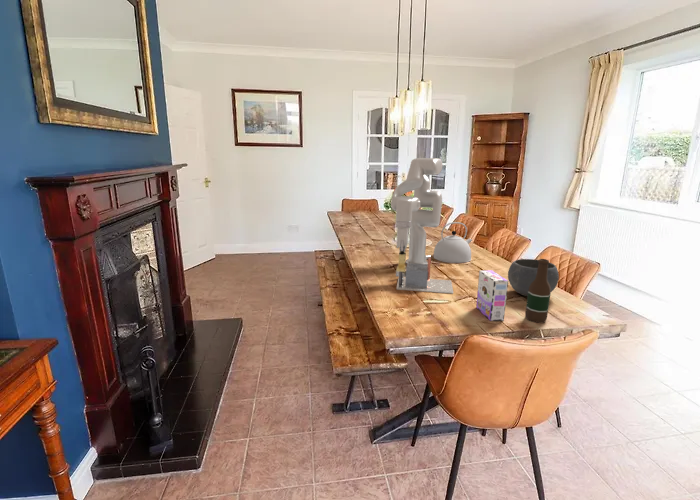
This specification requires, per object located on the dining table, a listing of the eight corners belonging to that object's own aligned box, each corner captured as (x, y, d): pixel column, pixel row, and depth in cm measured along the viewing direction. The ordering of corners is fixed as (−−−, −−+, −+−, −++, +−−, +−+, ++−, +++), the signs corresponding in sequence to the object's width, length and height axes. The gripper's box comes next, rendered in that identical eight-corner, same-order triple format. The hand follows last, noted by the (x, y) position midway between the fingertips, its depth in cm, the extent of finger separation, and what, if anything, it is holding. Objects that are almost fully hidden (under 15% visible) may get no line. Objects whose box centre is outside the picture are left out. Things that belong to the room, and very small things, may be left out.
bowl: (566, 300, 165) (571, 268, 161) (527, 305, 159) (532, 271, 155) (532, 285, 184) (536, 256, 180) (496, 289, 178) (500, 259, 174)
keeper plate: (405, 267, 185) (406, 253, 183) (405, 271, 178) (405, 257, 176) (397, 267, 185) (398, 253, 184) (396, 271, 179) (397, 257, 177)
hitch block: (450, 281, 189) (452, 263, 187) (453, 293, 172) (454, 274, 170) (398, 277, 194) (399, 260, 192) (396, 289, 177) (397, 270, 175)
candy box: (504, 321, 144) (509, 280, 140) (489, 321, 144) (494, 280, 140) (488, 306, 157) (492, 269, 153) (475, 307, 157) (478, 269, 153)
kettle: (460, 252, 247) (462, 218, 241) (482, 261, 226) (485, 224, 221) (426, 254, 239) (428, 219, 234) (446, 264, 218) (448, 226, 213)
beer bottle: (537, 324, 141) (546, 263, 135) (520, 317, 148) (527, 258, 142) (551, 320, 145) (560, 261, 139) (533, 313, 151) (541, 256, 145)
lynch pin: (429, 278, 184) (430, 256, 181) (429, 282, 179) (430, 259, 176) (396, 276, 187) (397, 255, 184) (395, 280, 182) (396, 257, 179)
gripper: (396, 221, 189) (395, 256, 194) (394, 226, 175) (393, 264, 179) (412, 221, 188) (410, 257, 192) (410, 227, 174) (409, 265, 178)
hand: (402, 260), depth 186 cm, fingers closed
